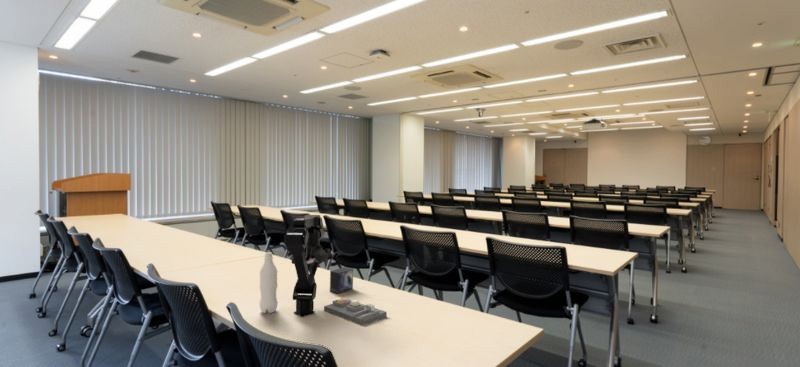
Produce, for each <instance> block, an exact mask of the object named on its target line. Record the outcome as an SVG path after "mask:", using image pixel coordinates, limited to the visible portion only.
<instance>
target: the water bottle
mask: <svg viewBox="0 0 800 367" xmlns="http://www.w3.org/2000/svg"><path fill="white" fill-rule="evenodd" d="M273 259H274V258H273V252H272V251H271V252H270V251H267V252H265V253H264V257H263V260H264V262H263V264H262V265H261V268H260V270H259V290H260V300H259V309H260V312H261V313H263V314H266V313H267V312H268V313H269V314H273V312H275V311H276V310H277V308H278V299H277V290H278V289H277V288H278V269H277V266H276V265H275V262H274V261H273Z"/></svg>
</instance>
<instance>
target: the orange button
mask: <svg viewBox="0 0 800 367" xmlns="http://www.w3.org/2000/svg"><path fill="white" fill-rule="evenodd" d="M336 300H337V302H339V303H342V302H345V298H343V299H341V298H338V299H336Z"/></svg>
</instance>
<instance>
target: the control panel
mask: <svg viewBox="0 0 800 367" xmlns="http://www.w3.org/2000/svg"><path fill="white" fill-rule="evenodd" d="M340 299H345V298H343V297H342V298H340ZM337 300H338V299H335V300H332V303H330V304H327V305H326V304H325V305H324V306H323V311H324V312H327V313H329V314H331V315H334V316H337V317H340V318H342V319H345V320H347V321H350V322H353V323H356V324H357V325H362V326H363V325H364V326H365V325H369V324H371V323H374V322H376V320H377V321H379V320H382V319H385V318H387V311H385V310H382V309H379V308H377V307H375V311H374V312H371V313H367V312H366V305H367V304H363V303H361V302H359V307H351V301H352V300H351V299H348V298H346V299H345V302H342V303H339V302H337Z"/></svg>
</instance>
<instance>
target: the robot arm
mask: <svg viewBox="0 0 800 367" xmlns="http://www.w3.org/2000/svg"><path fill="white" fill-rule="evenodd" d="M324 228H325V227H324V221H323V218H322V217H321V215H320V214H306V215H304V216H303V217H302V218H294V220H293V221H292V224H290V226H289V227H288V228H287V229H286V230H285V233H284V237H283V244H284V245H285V249H286V251H287V252H289V253H290V254H291V255H292V258H291V264H293V265H294V267H295V272H296V276H297V280H296V282H295V285H294V287H293V293H292V300H293V301H295V311H293V313H294V315H297V316H299V317H303V318H304V317H307V316H309V315H313V314H315V313H316V311H315V310H314V306H315V305H314V300H315V298H316V296H317V288H318V287H317V282H316V279H315V276H316V273H317V270H318V267H319V266H320V265H321V264H322V263H324V262H326V261H328V260H333V258H334V256H333V253H332V252H331V249H330V248H325V249H323V248H322V244H320V240H321V239H322V238H323V237H325V230H324ZM297 229H298V230H299V229H304V231H305V232H295V231H296V230H297ZM305 249H306V250H305Z"/></svg>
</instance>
